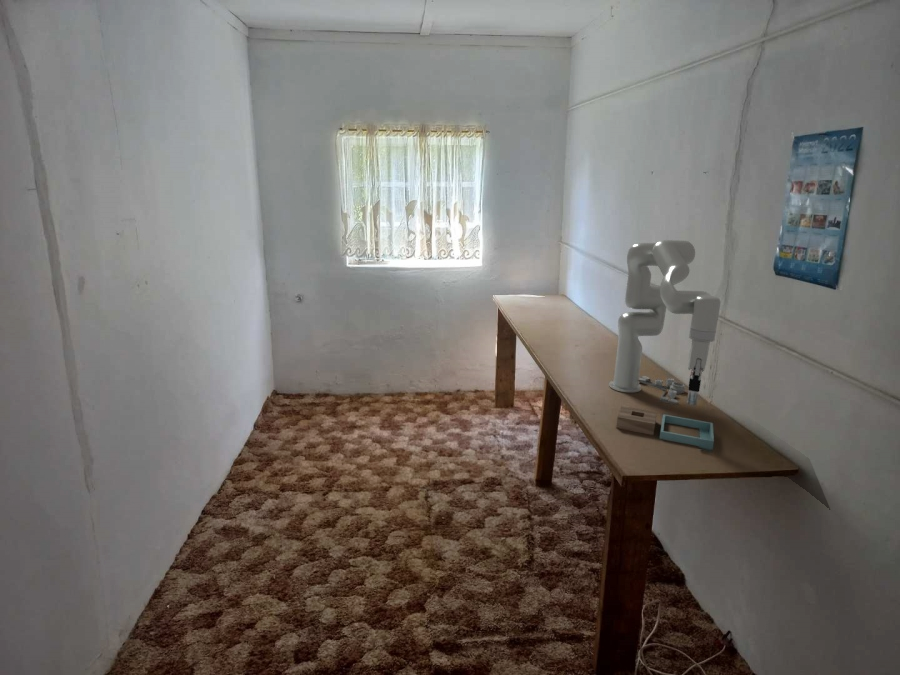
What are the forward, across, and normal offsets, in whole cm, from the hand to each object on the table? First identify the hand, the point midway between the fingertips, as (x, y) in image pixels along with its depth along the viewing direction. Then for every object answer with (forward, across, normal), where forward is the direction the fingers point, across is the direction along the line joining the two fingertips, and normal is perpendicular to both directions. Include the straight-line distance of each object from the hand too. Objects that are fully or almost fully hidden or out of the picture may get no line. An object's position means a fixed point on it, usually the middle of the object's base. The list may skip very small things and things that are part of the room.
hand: (693, 388), depth 190 cm
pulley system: (+17, -44, -8) cm, 48 cm away
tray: (+17, 0, 0) cm, 17 cm away
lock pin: (+5, 0, 0) cm, 5 cm away
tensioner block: (+17, 0, -16) cm, 24 cm away
